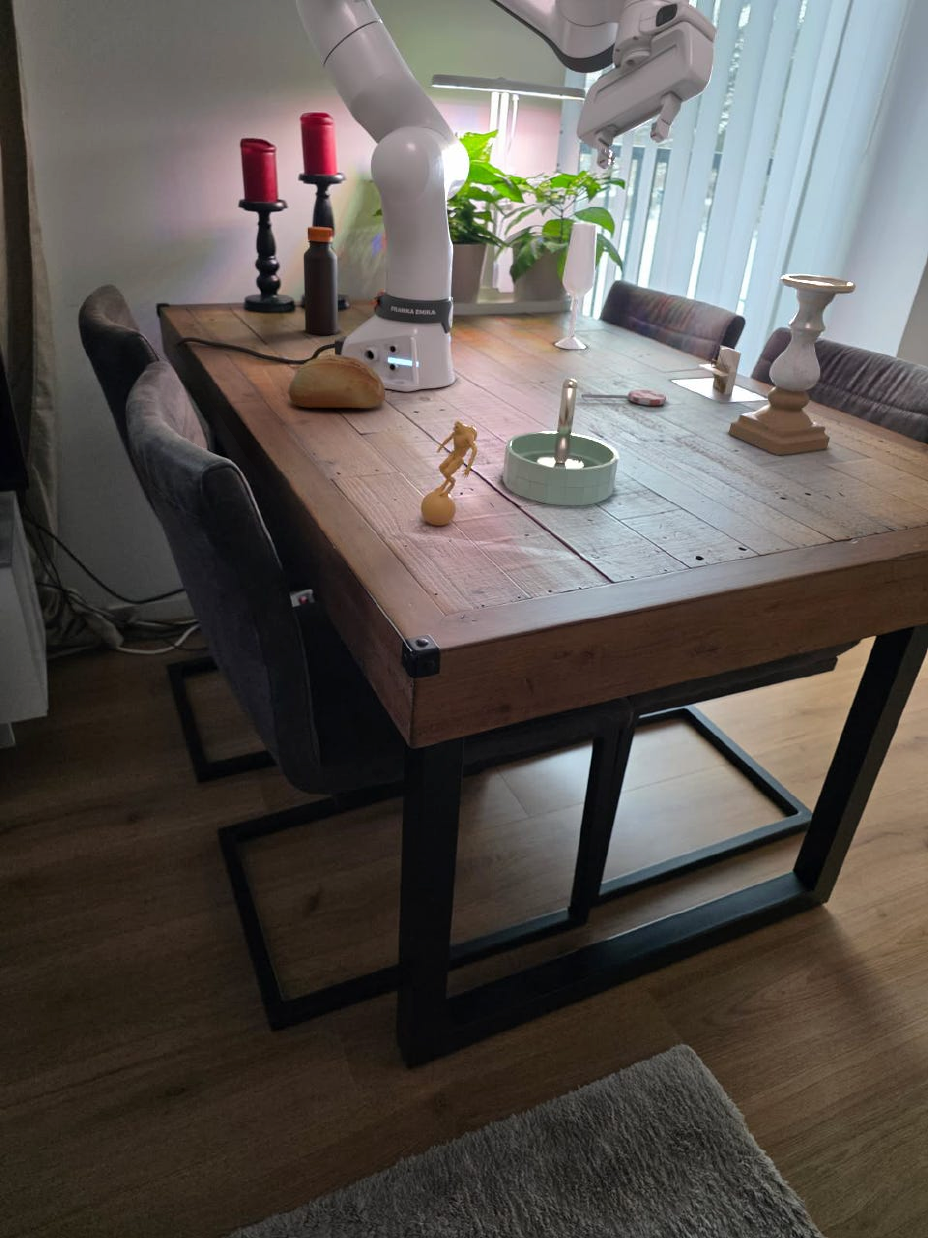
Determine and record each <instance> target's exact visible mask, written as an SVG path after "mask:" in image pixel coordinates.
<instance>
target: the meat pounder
mask: <svg viewBox="0 0 928 1238" xmlns="http://www.w3.org/2000/svg"><path fill="white" fill-rule="evenodd" d="M577 394H578V382H577V381H576V380H575V379H573V378H568V379H566V380H564V381H563V383H562V390H561V397H560V405H559V412H558V413H559V414H558V420H557V429H556V432H557V436H556V444H555V453H554V454H552V455H544V456H541V457H539V458H538V459H537V463H541V464H545V465H549V466H557V467H565V468H583V467H584V464H583V462H582V461H580V460H579V459H576V458H574V457H570V456H568V455H569V447H570V440H571V434H572V433H573V432H572V431H573V424H574V416H575V409H576V401H577Z"/></svg>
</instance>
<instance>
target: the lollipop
mask: <svg viewBox="0 0 928 1238" xmlns="http://www.w3.org/2000/svg"><path fill="white" fill-rule="evenodd" d="M581 398H583V399H584V398H585V399H621V400H629V401H631V402H633V403H635V404H639V405H642V406H661V405H664V404H665V403H666V401H667V397H666V395H665V394H663V393H661V392H659V391H655V390H649V389H634V390H630V391H629V392H628V393H627V395H626V394H592V393H591V394H588V393H587V394H586V393H582V394H581Z"/></svg>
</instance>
